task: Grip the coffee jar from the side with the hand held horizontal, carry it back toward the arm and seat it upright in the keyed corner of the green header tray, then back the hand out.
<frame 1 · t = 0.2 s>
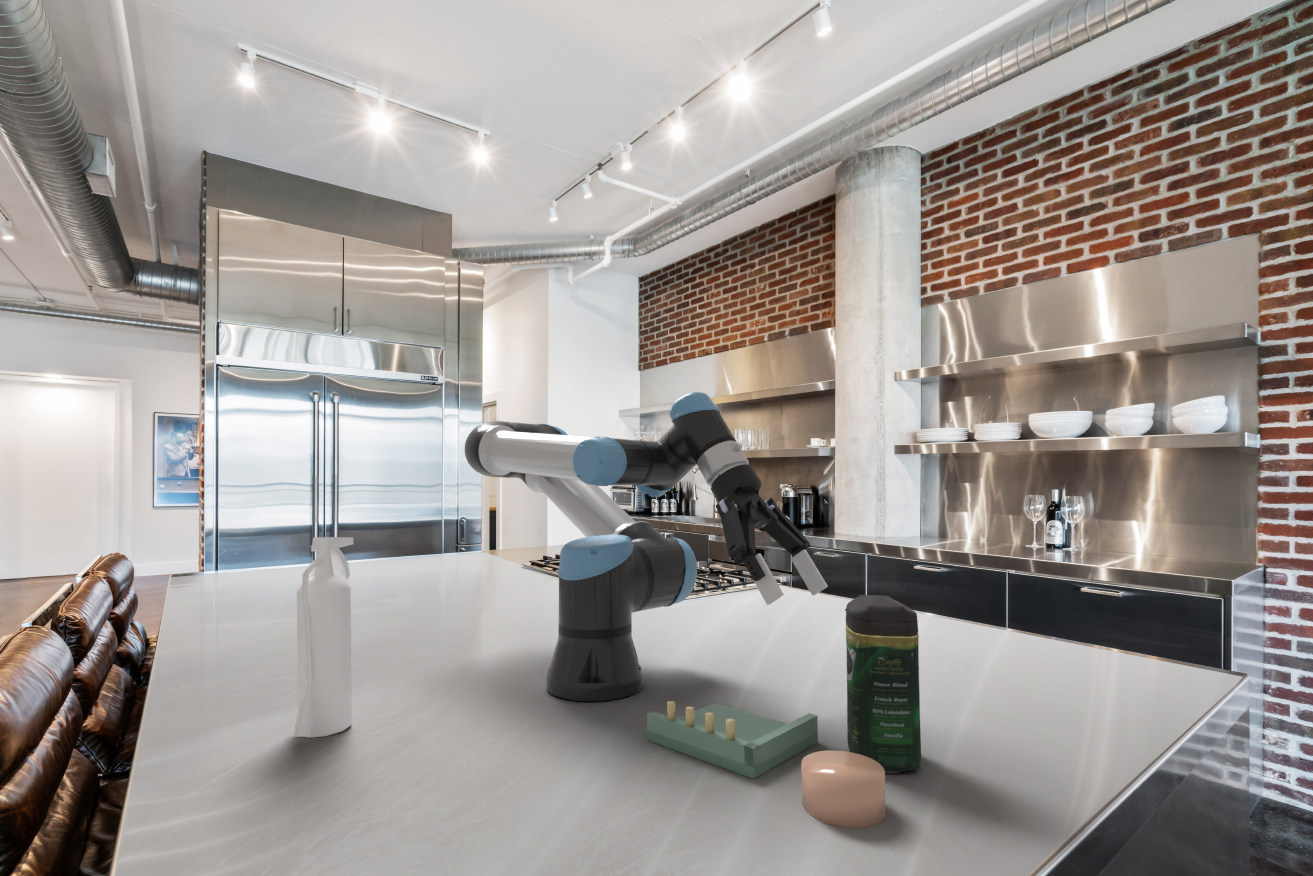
hand: (799, 595, 95), 16 cm above the counter, tool tilted 35°, fingers open, 13 cm apart
white spray bottle: (318, 733, 84), on the counter
peach soap bar: (843, 808, 65), on the counter
header tray: (732, 740, 81), on the counter
coffee jar: (883, 759, 76), on the counter
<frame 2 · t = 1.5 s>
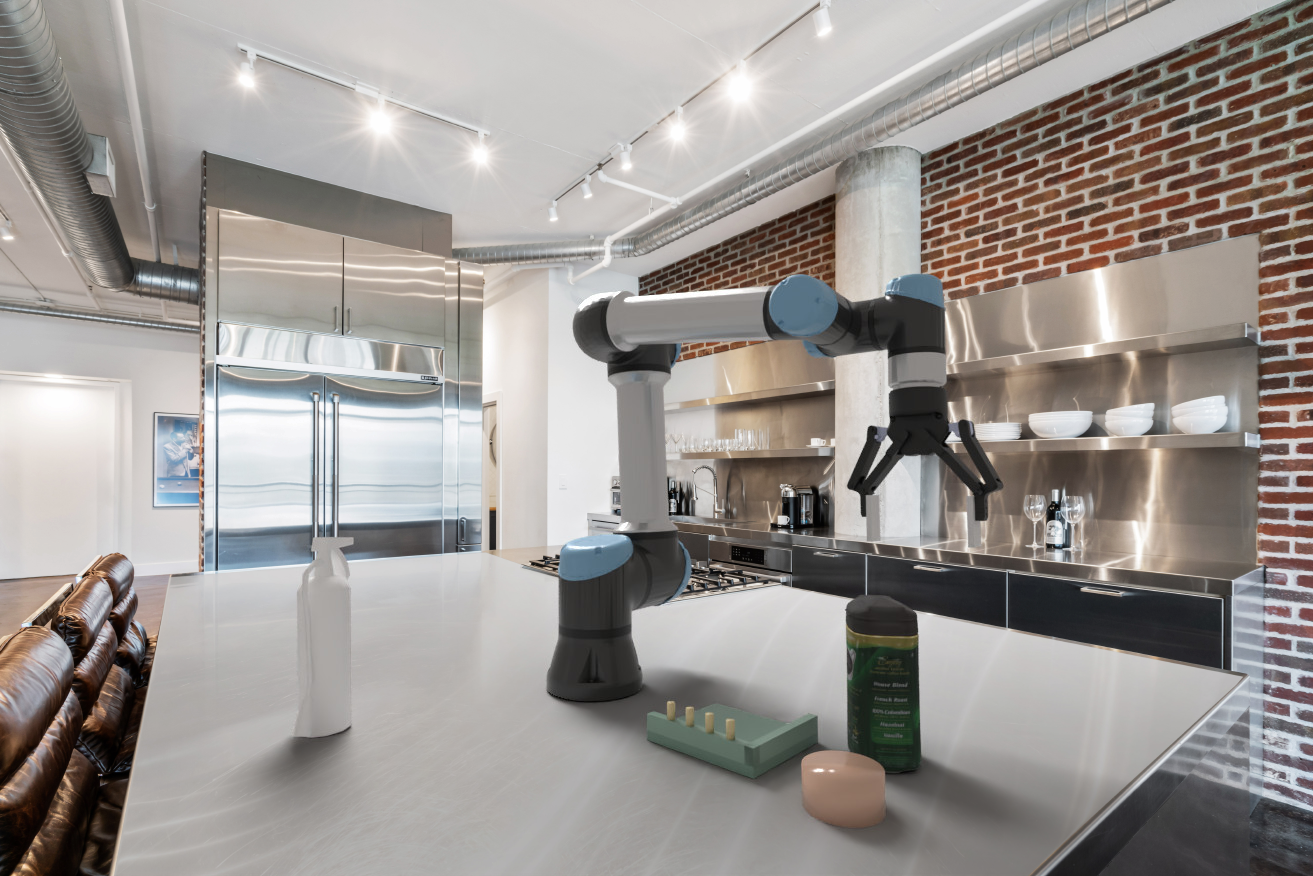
hand: (921, 544, 88), 24 cm above the counter, tool pointing down, fingers open, 13 cm apart
nothing on the counter moved.
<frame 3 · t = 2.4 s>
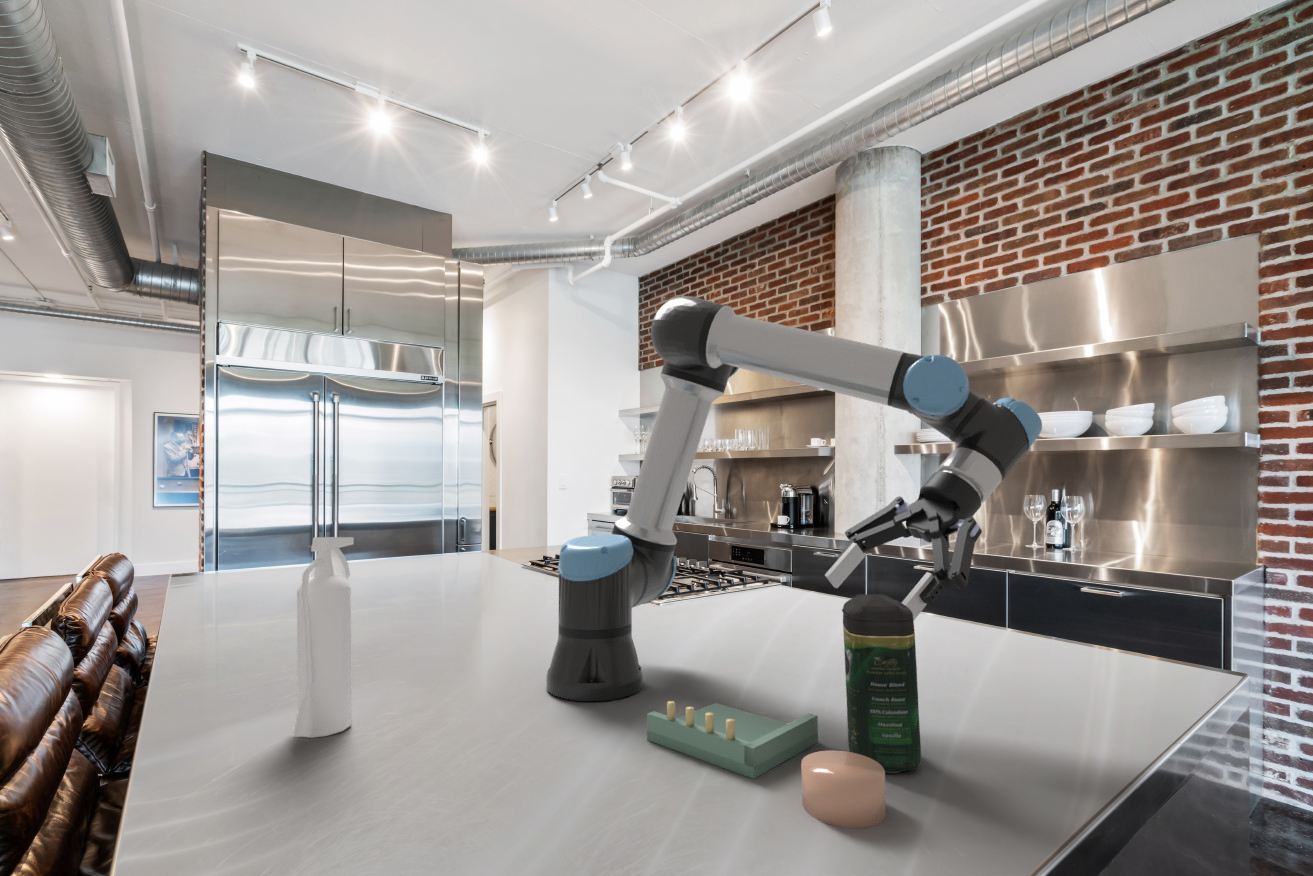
hand: (863, 599, 87), 17 cm above the counter, tool tilted 45°, fingers open, 13 cm apart
coffee jar: (884, 759, 76), on the counter, touching gripper
everything else where it was.
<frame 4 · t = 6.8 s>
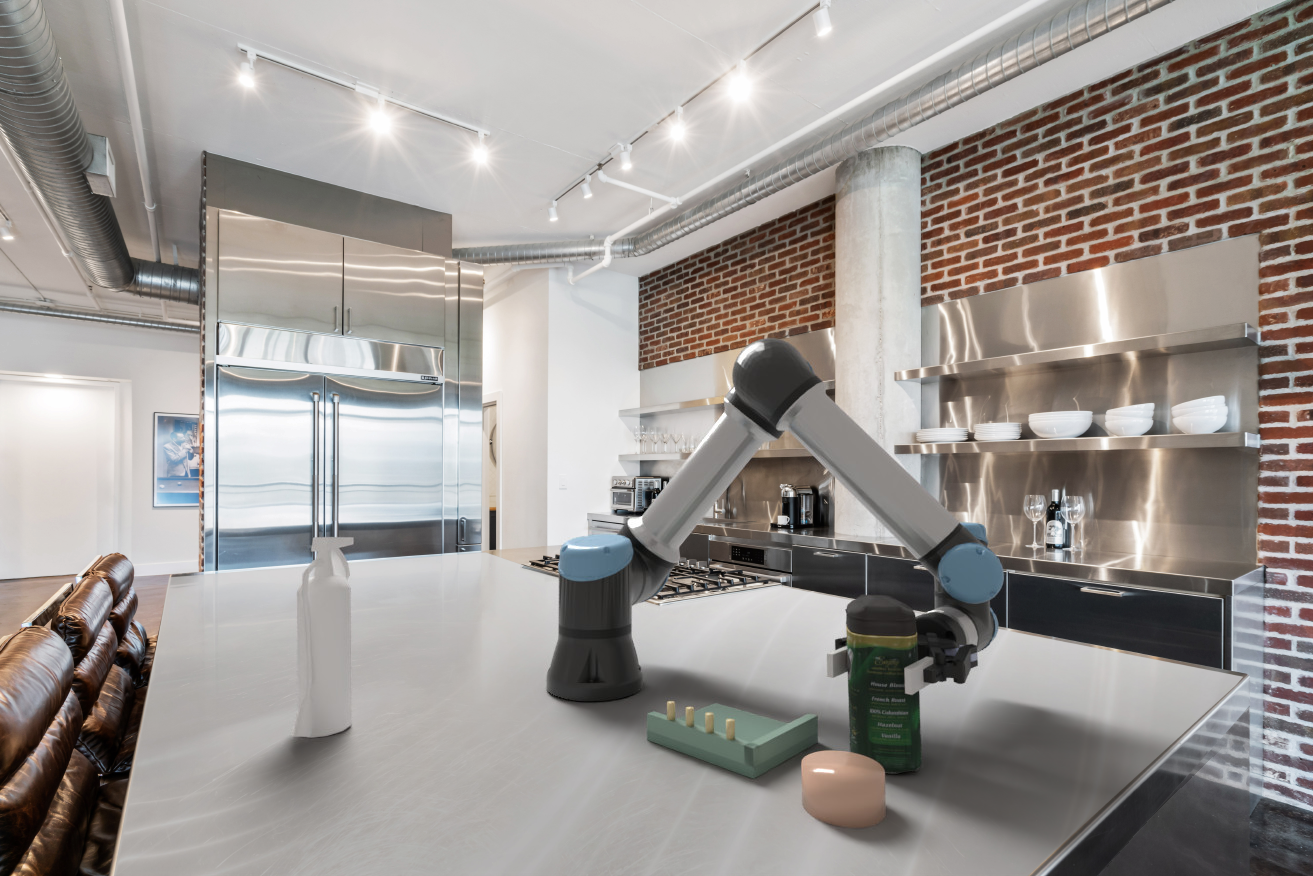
hand: (867, 673, 74), 11 cm above the counter, tool horizontal, fingers closed on coffee jar, 9 cm apart
coffee jar: (885, 760, 76), on the counter, touching gripper
everything else where it was.
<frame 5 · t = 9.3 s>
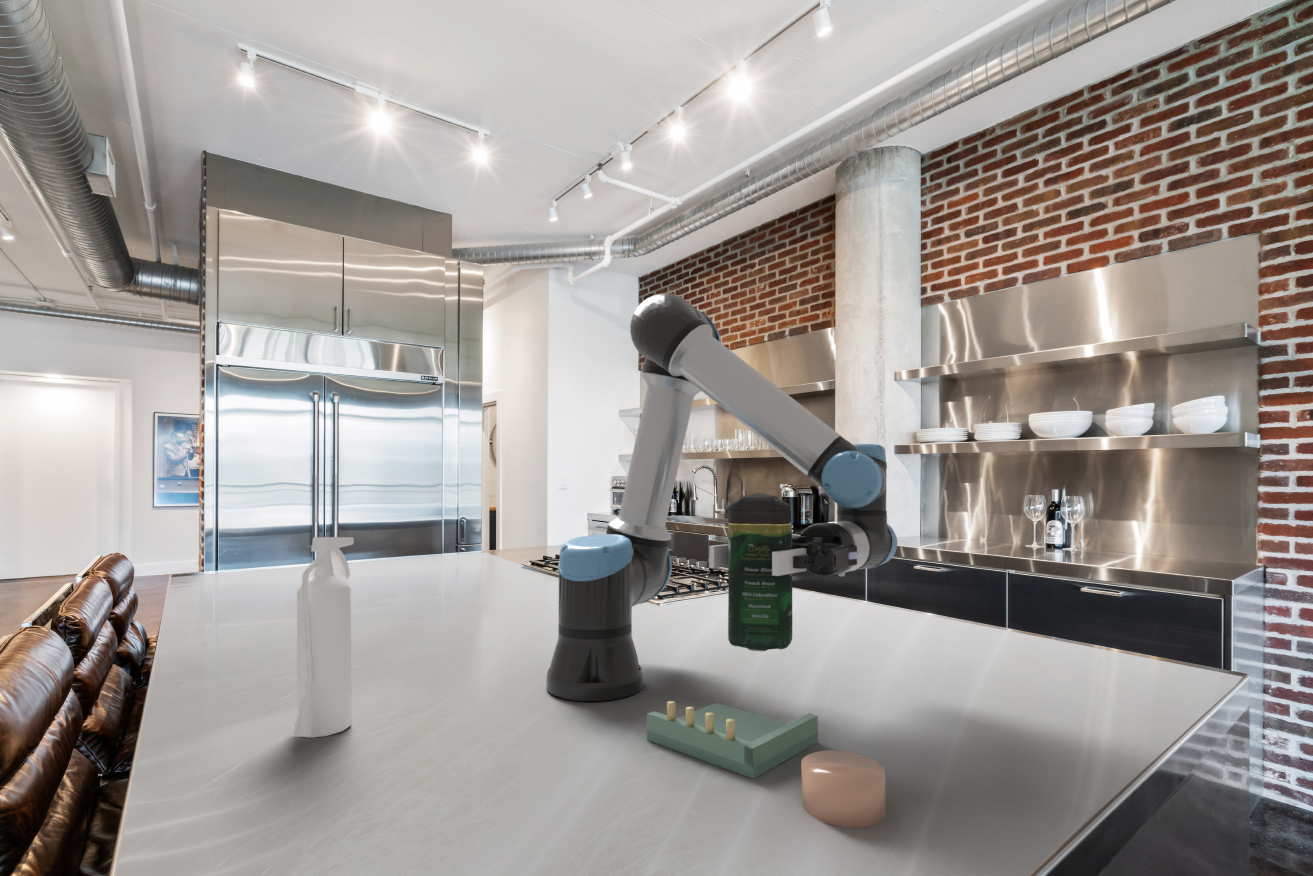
hand: (742, 560, 79), 23 cm above the counter, tool horizontal, fingers closed on coffee jar, 9 cm apart
coffee jar: (761, 645, 81), point 12 cm above the counter, touching gripper
everything else where it was.
when the fingers open (13 cm above the counter, at t = 12.2 s): coffee jar drops 1 cm, resting on header tray.
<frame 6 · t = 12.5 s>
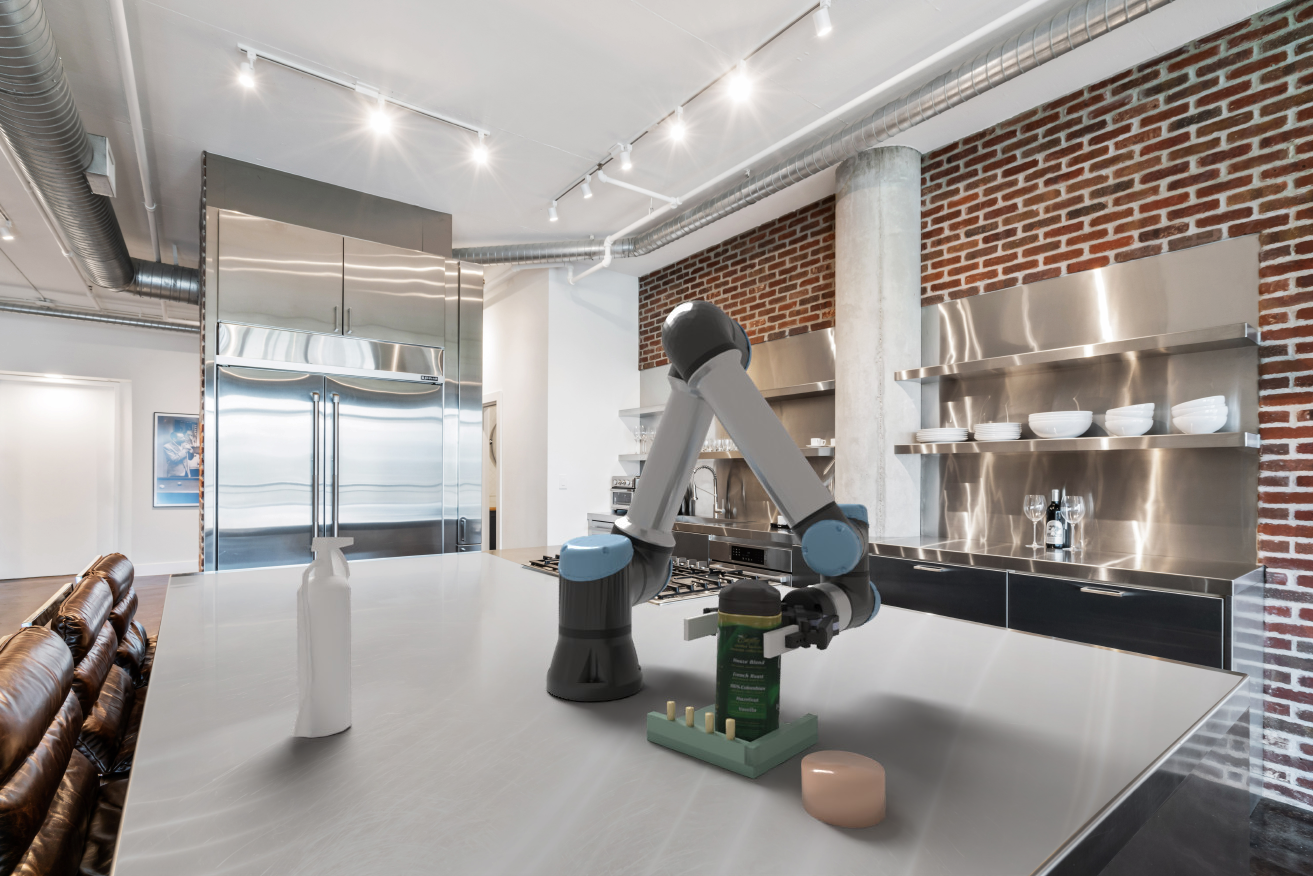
hand: (724, 637, 80), 13 cm above the counter, tool horizontal, fingers open, 11 cm apart
coffee jar: (747, 735, 80), point 1 cm above the counter, touching gripper, header tray
everything else where it was.
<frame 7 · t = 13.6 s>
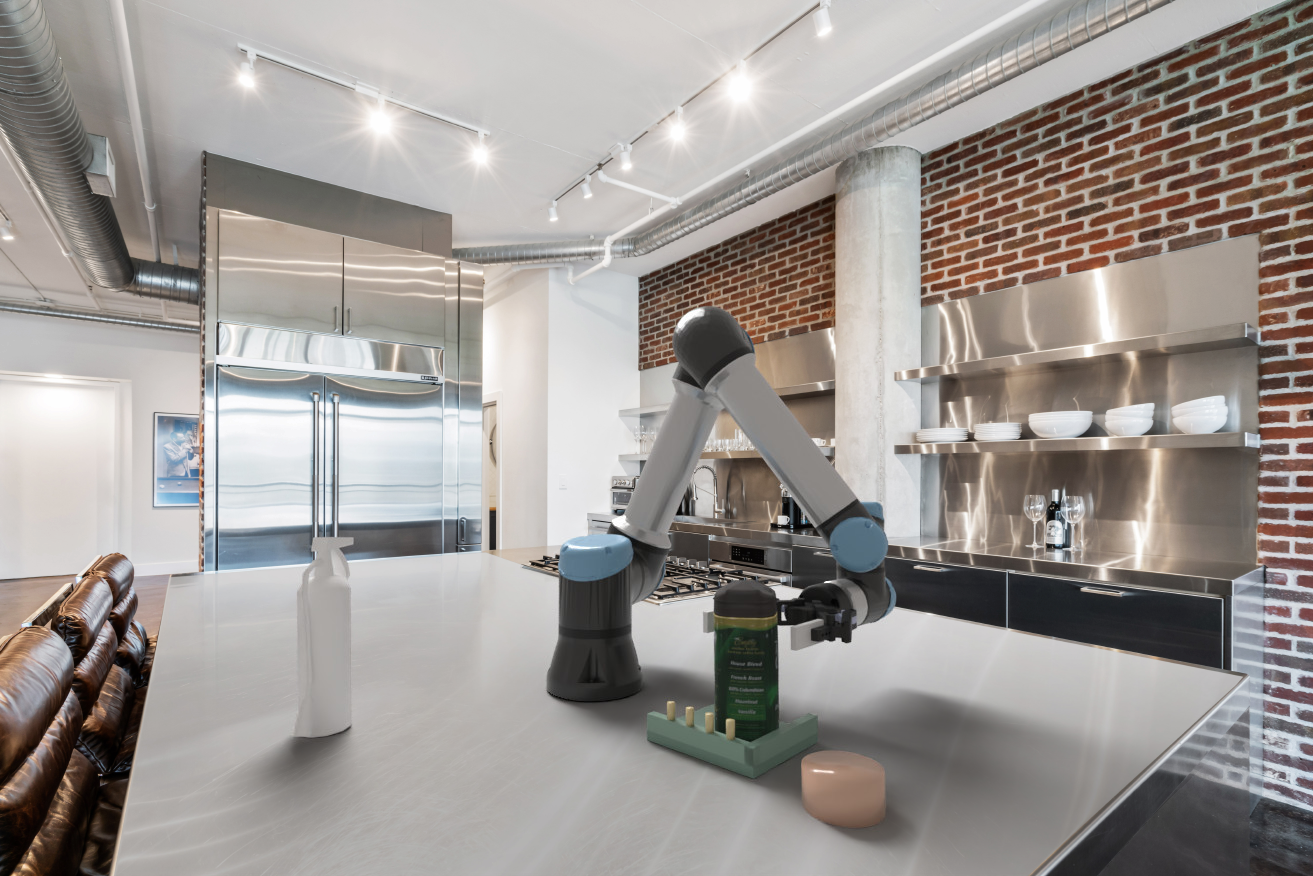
hand: (746, 630, 83), 14 cm above the counter, tool horizontal, fingers open, 13 cm apart
coffee jar: (747, 736, 80), point 1 cm above the counter, touching header tray
everything else where it was.
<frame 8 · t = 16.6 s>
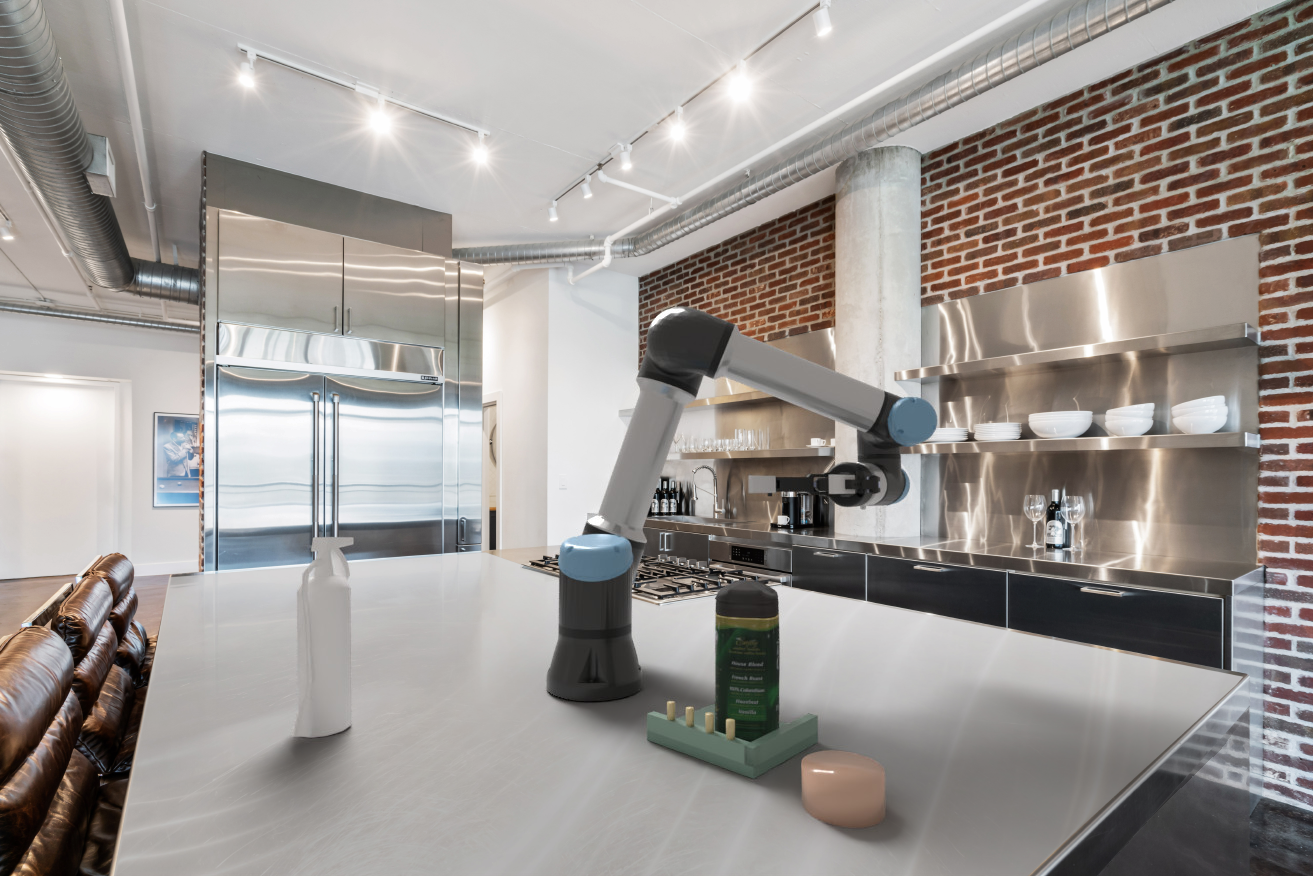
hand: (788, 484, 96), 32 cm above the counter, tool horizontal, fingers open, 13 cm apart
nothing on the counter moved.
at the end: coffee jar inside the target area on the header tray (1.8 cm from its centre), point 1.0 cm above the header tray's base; coffee jar tilted 0°; the gripper is holding nothing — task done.
